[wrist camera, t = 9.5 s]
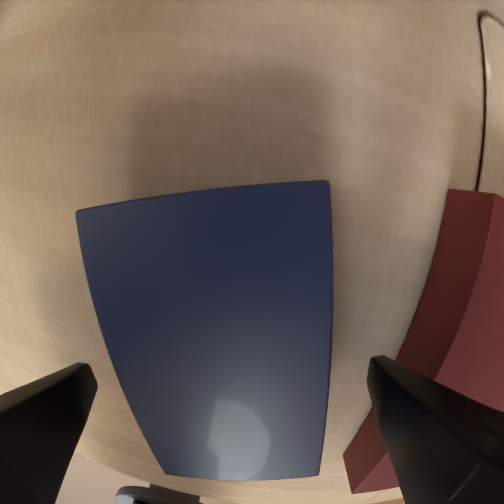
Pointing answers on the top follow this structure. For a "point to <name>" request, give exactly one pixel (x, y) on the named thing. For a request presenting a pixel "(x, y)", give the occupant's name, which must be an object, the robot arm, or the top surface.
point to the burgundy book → (450, 325)
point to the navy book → (220, 323)
